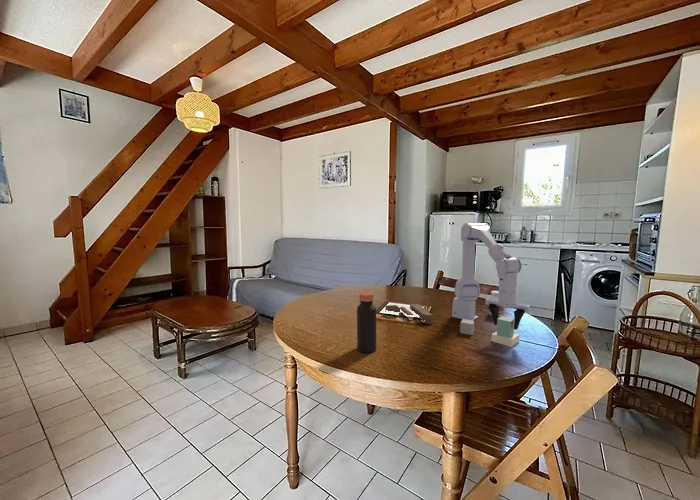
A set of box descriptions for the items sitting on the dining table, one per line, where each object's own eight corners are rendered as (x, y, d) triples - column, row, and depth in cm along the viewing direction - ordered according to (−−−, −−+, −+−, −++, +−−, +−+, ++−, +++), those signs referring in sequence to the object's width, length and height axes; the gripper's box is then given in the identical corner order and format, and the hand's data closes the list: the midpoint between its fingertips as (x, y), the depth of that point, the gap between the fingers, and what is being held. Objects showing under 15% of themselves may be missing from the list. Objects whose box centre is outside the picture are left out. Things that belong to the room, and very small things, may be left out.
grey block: (460, 333, 118) (460, 322, 117) (462, 329, 122) (462, 319, 121) (472, 335, 115) (472, 324, 115) (473, 331, 119) (474, 320, 119)
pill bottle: (506, 315, 139) (507, 292, 138) (498, 317, 136) (499, 294, 134) (493, 311, 144) (494, 289, 143) (486, 314, 141) (486, 291, 140)
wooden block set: (417, 301, 145) (434, 312, 128) (417, 312, 146) (433, 325, 128) (384, 303, 143) (396, 314, 125) (384, 314, 143) (396, 327, 126)
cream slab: (491, 342, 110) (491, 334, 109) (499, 337, 114) (499, 329, 114) (511, 348, 104) (511, 339, 104) (519, 342, 109) (519, 334, 108)
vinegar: (370, 355, 99) (370, 297, 97) (353, 350, 103) (353, 294, 101) (379, 347, 105) (379, 292, 103) (363, 343, 108) (362, 290, 106)
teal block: (496, 334, 109) (497, 318, 108) (500, 331, 112) (501, 316, 111) (509, 337, 106) (510, 321, 105) (513, 334, 109) (514, 318, 108)
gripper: (482, 289, 110) (481, 324, 111) (526, 295, 99) (524, 334, 101) (490, 286, 115) (488, 319, 116) (532, 292, 104) (530, 329, 105)
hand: (505, 326), depth 109 cm, fingers open, 6 cm apart
